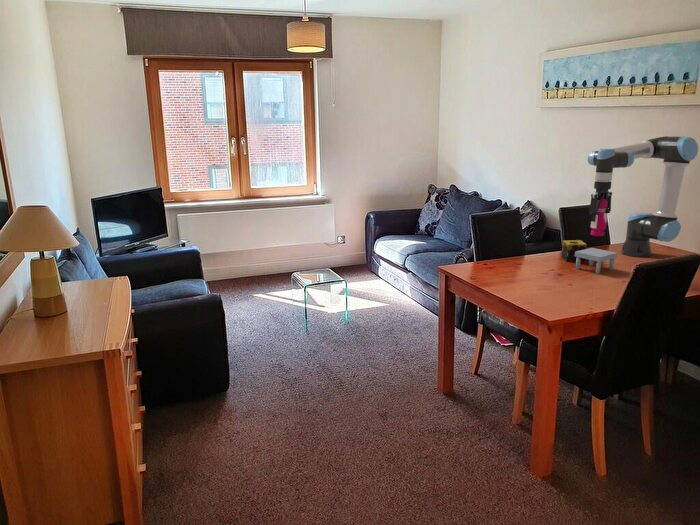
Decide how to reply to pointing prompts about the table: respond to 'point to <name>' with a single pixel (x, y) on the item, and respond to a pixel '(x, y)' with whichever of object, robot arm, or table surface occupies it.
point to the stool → (595, 257)
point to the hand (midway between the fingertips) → (598, 226)
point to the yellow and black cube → (572, 250)
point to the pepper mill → (600, 220)
